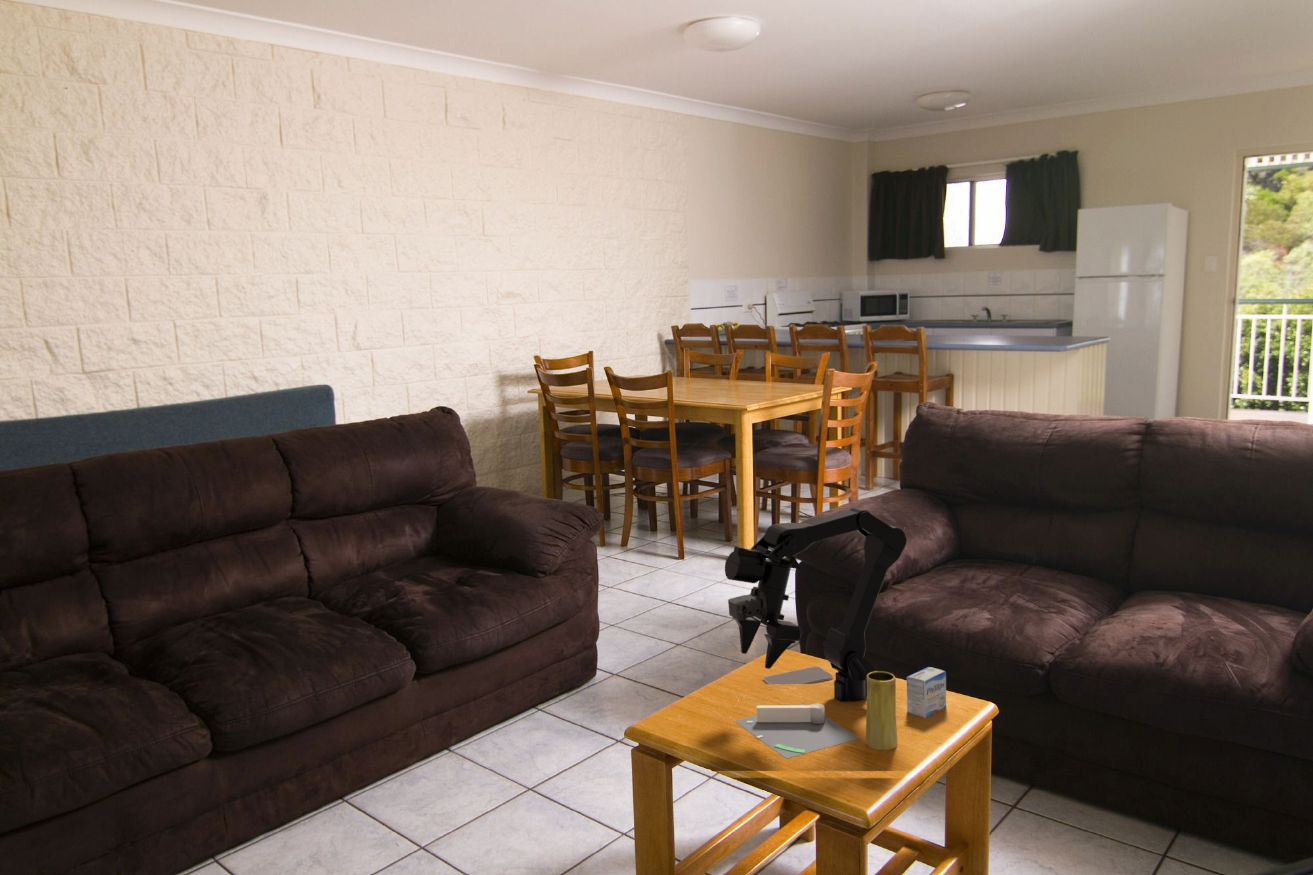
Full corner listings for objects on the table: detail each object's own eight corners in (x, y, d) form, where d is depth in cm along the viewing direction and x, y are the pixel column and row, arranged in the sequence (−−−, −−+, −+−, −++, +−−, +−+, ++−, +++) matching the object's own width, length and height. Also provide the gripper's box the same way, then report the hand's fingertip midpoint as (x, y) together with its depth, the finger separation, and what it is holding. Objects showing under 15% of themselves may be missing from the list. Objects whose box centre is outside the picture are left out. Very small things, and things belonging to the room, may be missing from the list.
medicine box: (925, 722, 184) (925, 681, 183) (906, 716, 187) (906, 675, 186) (946, 711, 189) (946, 670, 188) (927, 705, 193) (927, 665, 191)
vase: (892, 758, 170) (891, 684, 168) (860, 751, 173) (859, 678, 171) (902, 744, 175) (901, 673, 173) (871, 738, 178) (870, 667, 176)
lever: (823, 717, 185) (823, 703, 185) (825, 723, 182) (825, 709, 182) (757, 717, 186) (756, 703, 186) (757, 724, 183) (757, 709, 183)
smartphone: (761, 677, 210) (817, 665, 215) (761, 681, 210) (817, 669, 215) (777, 688, 203) (834, 676, 208) (777, 692, 203) (834, 680, 209)
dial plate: (803, 707, 193) (803, 702, 193) (860, 742, 176) (860, 737, 176) (734, 725, 186) (733, 720, 186) (786, 763, 169) (785, 757, 169)
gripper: (716, 570, 191) (699, 642, 191) (764, 594, 174) (746, 673, 175) (760, 576, 196) (744, 647, 196) (810, 600, 179) (793, 677, 179)
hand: (755, 660), depth 186 cm, fingers open, 9 cm apart
